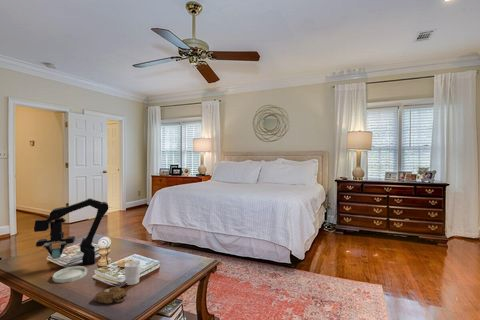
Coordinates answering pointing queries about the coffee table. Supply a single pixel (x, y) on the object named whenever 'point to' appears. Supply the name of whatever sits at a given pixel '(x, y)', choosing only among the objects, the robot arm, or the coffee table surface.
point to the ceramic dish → (69, 274)
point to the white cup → (132, 272)
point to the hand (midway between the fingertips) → (56, 255)
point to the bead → (56, 253)
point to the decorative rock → (111, 295)
